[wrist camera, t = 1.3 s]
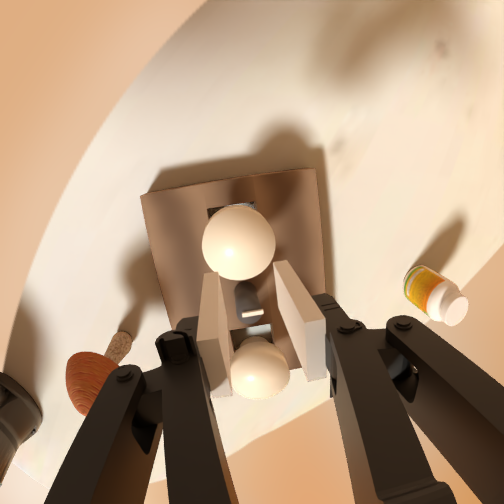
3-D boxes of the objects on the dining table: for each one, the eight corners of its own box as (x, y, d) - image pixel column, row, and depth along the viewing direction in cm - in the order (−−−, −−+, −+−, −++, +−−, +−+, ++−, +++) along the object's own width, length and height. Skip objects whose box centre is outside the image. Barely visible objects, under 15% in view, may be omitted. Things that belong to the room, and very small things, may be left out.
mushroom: (89, 306, 35) (37, 376, 21) (147, 310, 36) (114, 389, 22) (99, 356, 38) (62, 432, 23) (152, 361, 38) (131, 445, 24)
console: (191, 371, 39) (189, 385, 36) (146, 193, 32) (140, 196, 29) (320, 349, 40) (327, 361, 38) (307, 167, 33) (315, 168, 30)
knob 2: (233, 372, 35) (236, 403, 30) (224, 331, 34) (225, 360, 28) (282, 364, 36) (291, 393, 30) (277, 322, 34) (287, 350, 29)
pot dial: (235, 303, 34) (238, 327, 29) (232, 283, 33) (234, 305, 28) (258, 299, 34) (265, 322, 29) (255, 279, 33) (261, 300, 28)
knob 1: (210, 264, 31) (209, 285, 26) (200, 206, 29) (195, 215, 24) (269, 254, 31) (279, 273, 26) (261, 196, 30) (270, 203, 24)
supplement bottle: (396, 299, 40) (435, 332, 30) (407, 262, 38) (450, 289, 29) (424, 300, 40) (463, 330, 31) (434, 266, 39) (477, 291, 30)
